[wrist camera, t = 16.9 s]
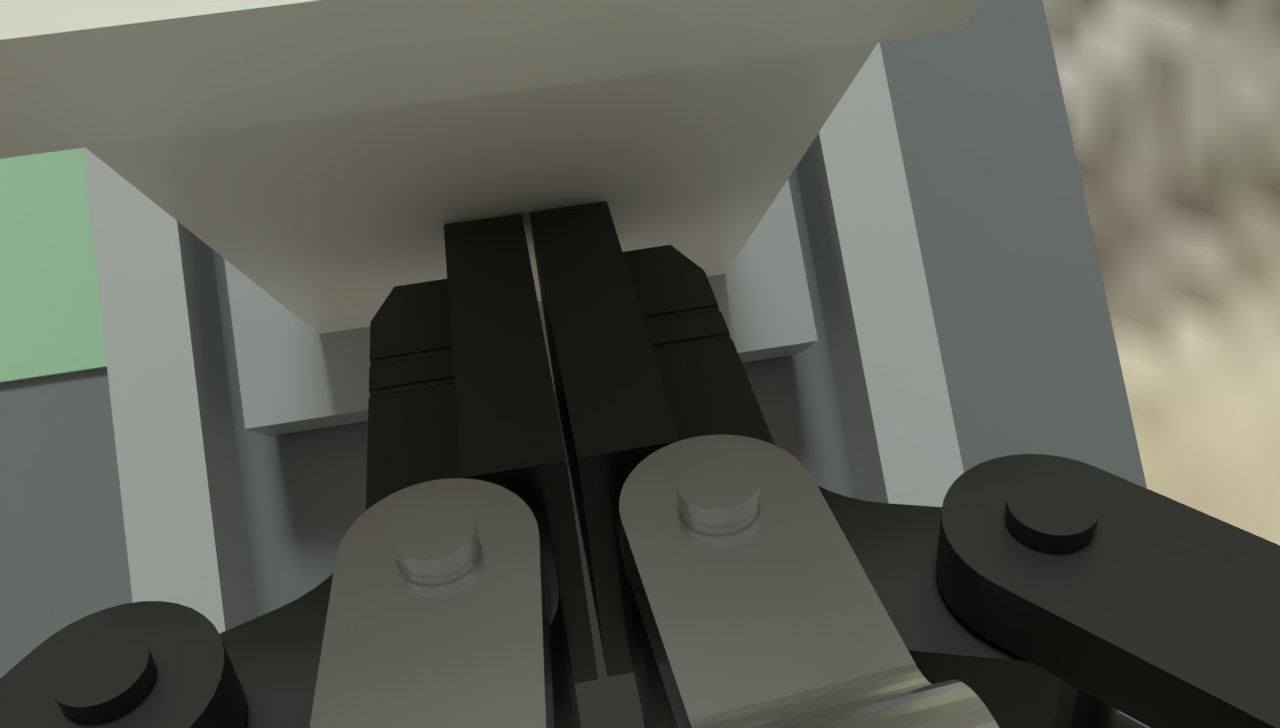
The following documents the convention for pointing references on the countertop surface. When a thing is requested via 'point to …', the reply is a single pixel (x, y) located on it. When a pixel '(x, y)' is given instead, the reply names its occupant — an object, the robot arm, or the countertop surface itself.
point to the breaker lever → (444, 145)
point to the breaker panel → (337, 456)
